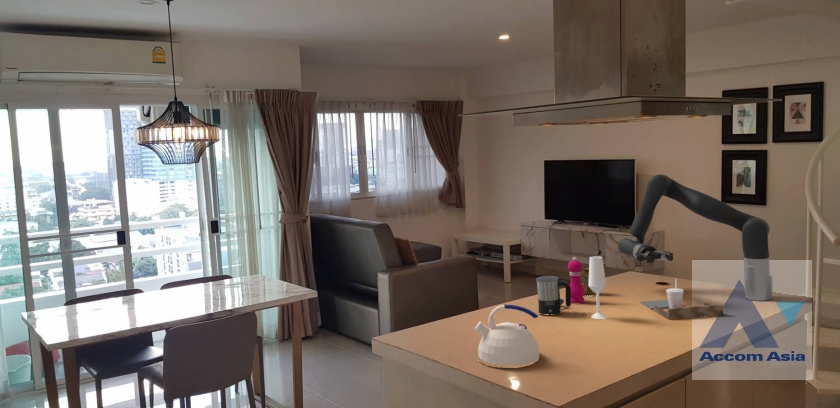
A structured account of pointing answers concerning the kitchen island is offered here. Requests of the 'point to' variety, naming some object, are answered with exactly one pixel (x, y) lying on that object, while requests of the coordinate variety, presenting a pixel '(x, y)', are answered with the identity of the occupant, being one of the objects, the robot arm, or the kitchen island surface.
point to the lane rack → (690, 311)
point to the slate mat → (656, 304)
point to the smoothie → (675, 296)
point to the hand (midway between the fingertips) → (661, 259)
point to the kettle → (507, 341)
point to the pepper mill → (576, 281)
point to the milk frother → (551, 294)
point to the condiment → (585, 283)
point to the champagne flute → (597, 281)
